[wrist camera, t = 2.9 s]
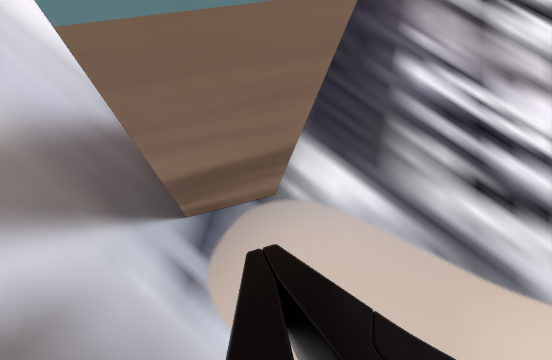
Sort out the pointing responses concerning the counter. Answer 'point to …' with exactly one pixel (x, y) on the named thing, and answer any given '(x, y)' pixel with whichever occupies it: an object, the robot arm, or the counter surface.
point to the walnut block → (207, 84)
